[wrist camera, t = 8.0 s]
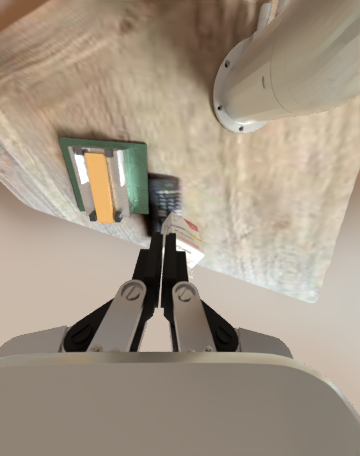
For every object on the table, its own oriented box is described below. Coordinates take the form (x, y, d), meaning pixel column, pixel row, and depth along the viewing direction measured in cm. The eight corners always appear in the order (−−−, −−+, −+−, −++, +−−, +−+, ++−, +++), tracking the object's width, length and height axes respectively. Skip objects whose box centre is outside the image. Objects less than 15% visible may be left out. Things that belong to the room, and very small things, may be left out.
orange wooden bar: (86, 152, 26) (84, 152, 25) (104, 154, 26) (103, 154, 25) (99, 220, 32) (98, 222, 31) (114, 221, 32) (113, 222, 31)
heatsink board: (61, 137, 29) (33, 137, 23) (146, 144, 30) (141, 146, 24) (82, 209, 36) (64, 223, 31) (149, 212, 38) (145, 226, 32)
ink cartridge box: (197, 225, 41) (210, 265, 28) (187, 238, 43) (194, 281, 30) (171, 210, 38) (172, 246, 26) (161, 224, 40) (157, 265, 28)
